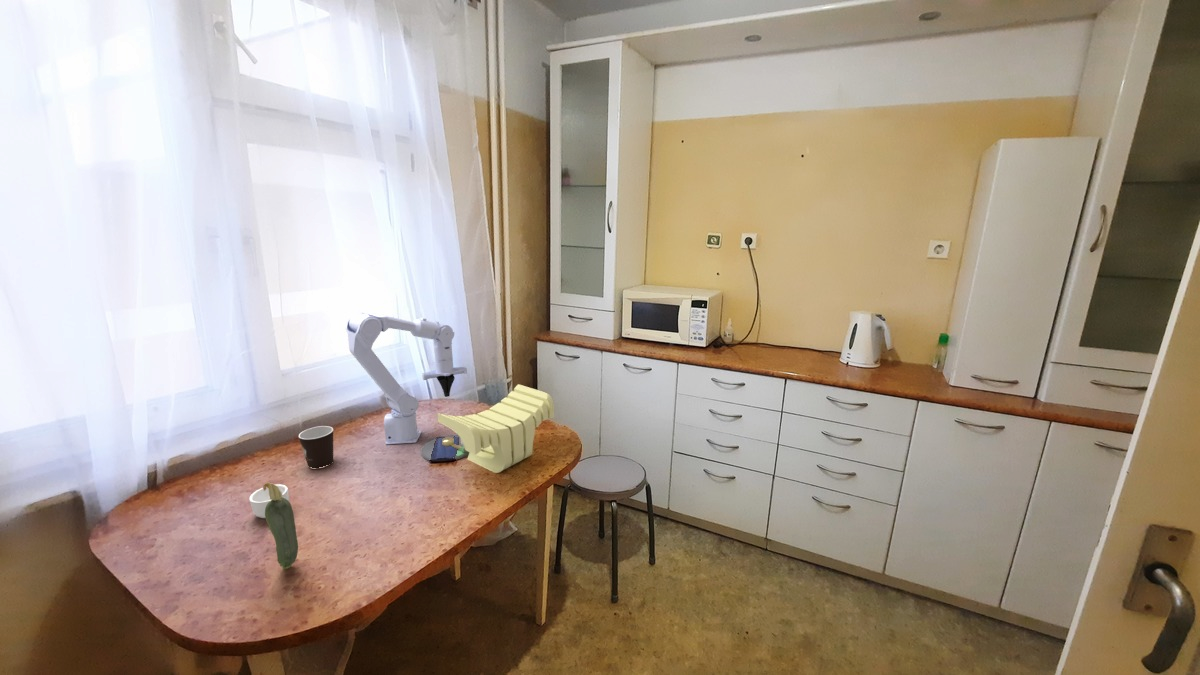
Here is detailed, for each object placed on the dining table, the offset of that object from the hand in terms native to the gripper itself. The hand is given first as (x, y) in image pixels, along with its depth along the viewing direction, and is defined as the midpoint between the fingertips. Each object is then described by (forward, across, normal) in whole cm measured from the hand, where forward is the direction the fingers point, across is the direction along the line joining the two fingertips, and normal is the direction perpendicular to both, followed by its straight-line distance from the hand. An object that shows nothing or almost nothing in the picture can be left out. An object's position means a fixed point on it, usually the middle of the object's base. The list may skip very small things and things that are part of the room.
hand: (446, 395), depth 159 cm
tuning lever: (+9, -3, -22) cm, 24 cm away
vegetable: (+11, -45, -55) cm, 72 cm away
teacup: (+11, -50, -29) cm, 59 cm away
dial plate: (+10, -5, -20) cm, 23 cm away
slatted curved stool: (+11, +7, -34) cm, 36 cm away
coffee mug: (+11, -39, -8) cm, 41 cm away
